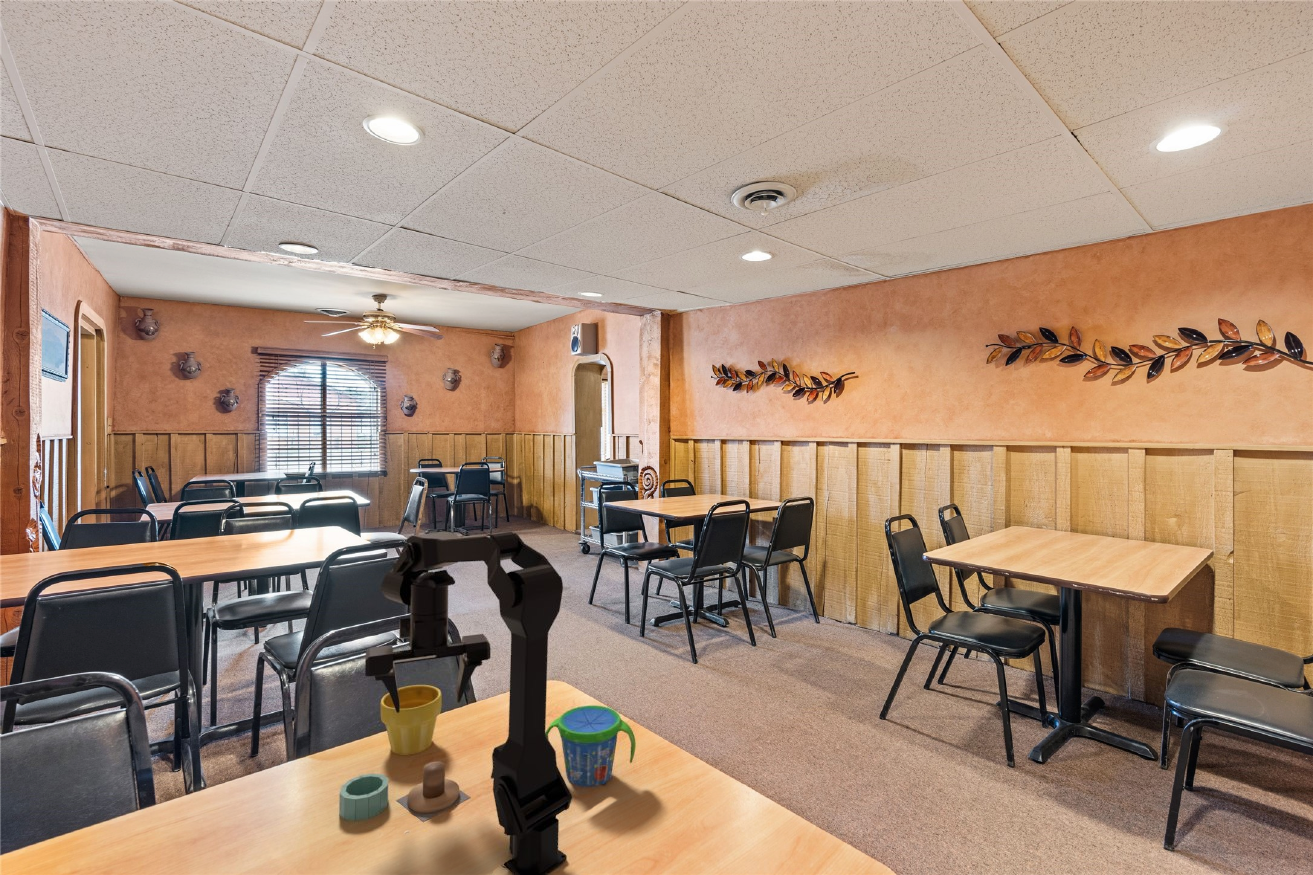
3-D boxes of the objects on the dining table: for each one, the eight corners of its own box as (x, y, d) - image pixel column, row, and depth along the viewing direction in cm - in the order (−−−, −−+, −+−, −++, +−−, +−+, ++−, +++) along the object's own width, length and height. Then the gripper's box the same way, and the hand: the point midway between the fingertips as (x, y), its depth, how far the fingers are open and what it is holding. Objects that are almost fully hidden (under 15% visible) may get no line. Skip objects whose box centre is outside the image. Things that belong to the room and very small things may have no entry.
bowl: (395, 810, 93) (396, 784, 93) (351, 831, 88) (352, 804, 88) (375, 793, 98) (375, 768, 98) (332, 813, 93) (332, 786, 93)
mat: (470, 802, 96) (470, 797, 96) (423, 827, 90) (423, 821, 90) (442, 783, 101) (442, 778, 101) (396, 805, 95) (396, 800, 95)
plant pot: (373, 767, 105) (373, 710, 105) (387, 737, 116) (388, 686, 115) (436, 761, 107) (436, 706, 107) (444, 733, 118) (445, 682, 117)
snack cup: (532, 789, 100) (533, 727, 100) (556, 756, 110) (557, 700, 110) (625, 803, 96) (626, 739, 96) (641, 768, 107) (642, 710, 107)
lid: (468, 797, 96) (469, 765, 96) (423, 820, 90) (424, 786, 90) (442, 779, 101) (442, 749, 101) (398, 800, 95) (398, 768, 95)
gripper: (480, 593, 110) (480, 679, 110) (366, 604, 103) (366, 697, 103) (491, 609, 100) (490, 704, 100) (365, 622, 93) (364, 725, 92)
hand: (428, 706), depth 99 cm, fingers open, 9 cm apart
